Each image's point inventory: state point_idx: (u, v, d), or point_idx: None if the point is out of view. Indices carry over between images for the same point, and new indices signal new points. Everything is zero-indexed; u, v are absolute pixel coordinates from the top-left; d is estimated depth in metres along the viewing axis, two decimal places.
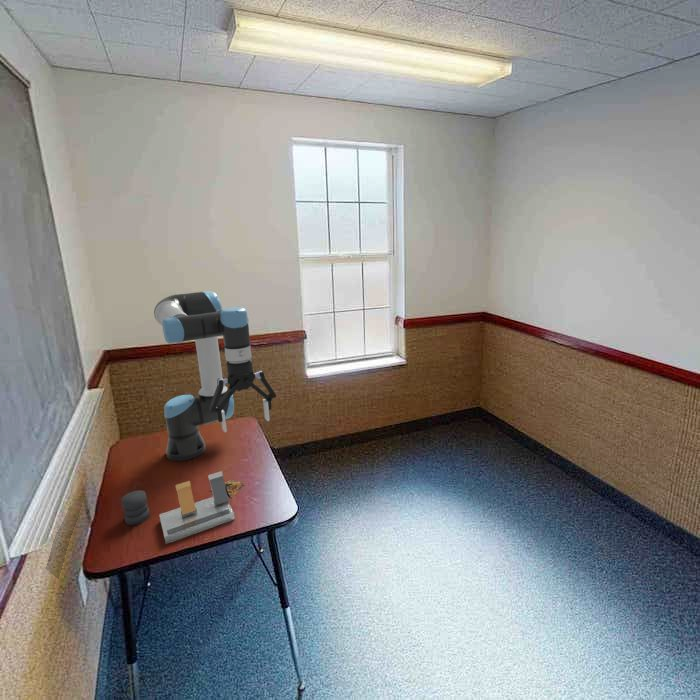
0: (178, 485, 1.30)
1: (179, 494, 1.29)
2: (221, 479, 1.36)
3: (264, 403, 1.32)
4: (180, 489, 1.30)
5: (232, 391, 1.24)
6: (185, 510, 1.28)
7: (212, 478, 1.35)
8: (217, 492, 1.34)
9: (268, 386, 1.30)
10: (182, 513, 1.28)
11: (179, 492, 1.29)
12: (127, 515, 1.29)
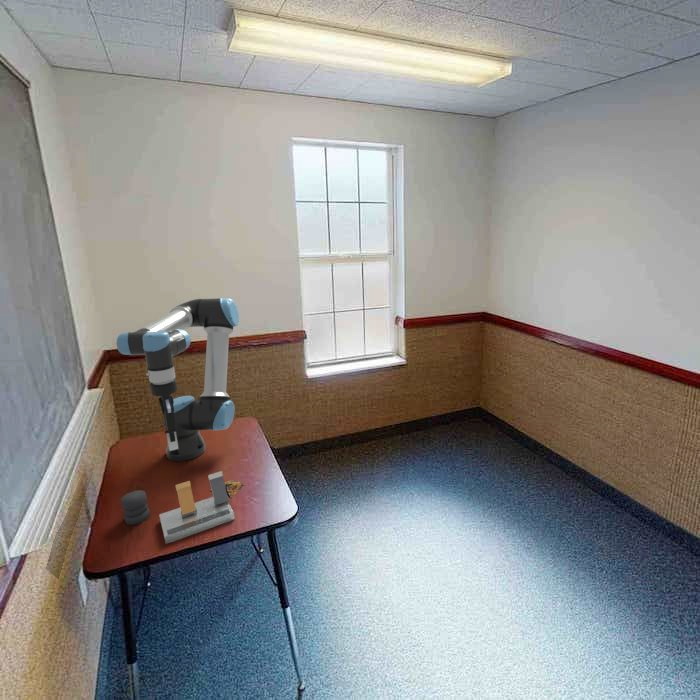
0: (178, 485, 1.30)
1: (179, 494, 1.29)
2: (221, 479, 1.36)
3: None
4: (180, 489, 1.30)
5: (161, 409, 1.33)
6: (185, 510, 1.28)
7: (212, 478, 1.35)
8: (217, 492, 1.34)
9: (166, 421, 1.30)
10: (182, 513, 1.28)
11: (179, 492, 1.29)
12: (127, 515, 1.29)
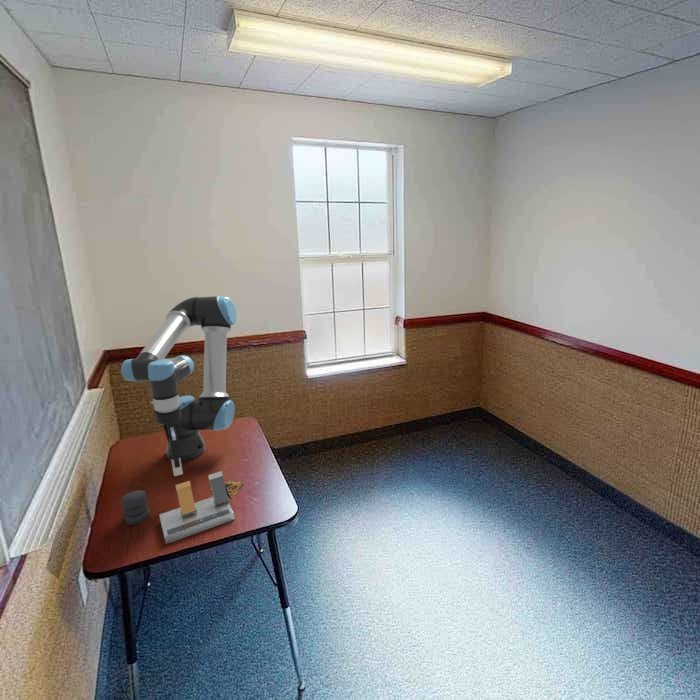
0: (178, 485, 1.30)
1: (179, 494, 1.29)
2: (221, 479, 1.36)
3: None
4: (180, 489, 1.30)
5: None
6: (185, 510, 1.28)
7: (212, 478, 1.35)
8: (217, 492, 1.34)
9: (171, 448, 1.32)
10: (182, 513, 1.28)
11: (179, 492, 1.29)
12: (127, 515, 1.29)
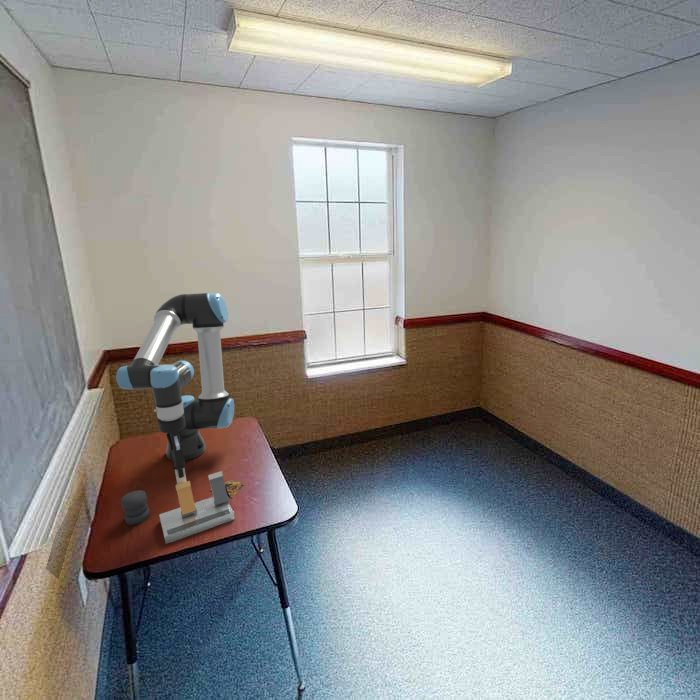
0: (178, 485, 1.30)
1: (179, 494, 1.29)
2: (221, 479, 1.36)
3: None
4: (180, 489, 1.30)
5: (169, 444, 1.30)
6: (185, 510, 1.28)
7: (212, 478, 1.35)
8: (217, 492, 1.34)
9: (174, 458, 1.26)
10: (182, 513, 1.28)
11: (179, 492, 1.29)
12: (127, 515, 1.29)
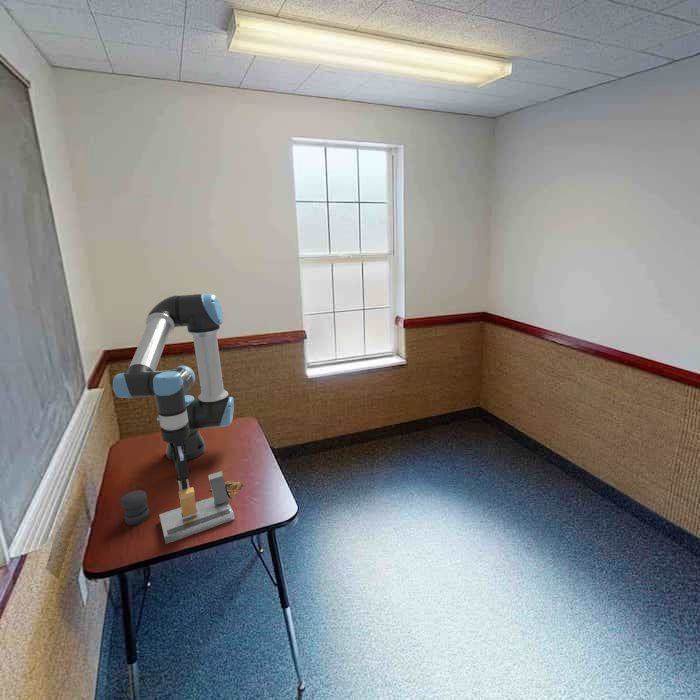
0: (182, 496, 1.23)
1: (182, 502, 1.24)
2: (221, 479, 1.36)
3: None
4: (184, 498, 1.24)
5: (172, 454, 1.23)
6: (186, 514, 1.27)
7: (212, 478, 1.35)
8: (217, 492, 1.34)
9: (178, 469, 1.20)
10: (183, 516, 1.27)
11: (182, 501, 1.24)
12: (127, 515, 1.29)
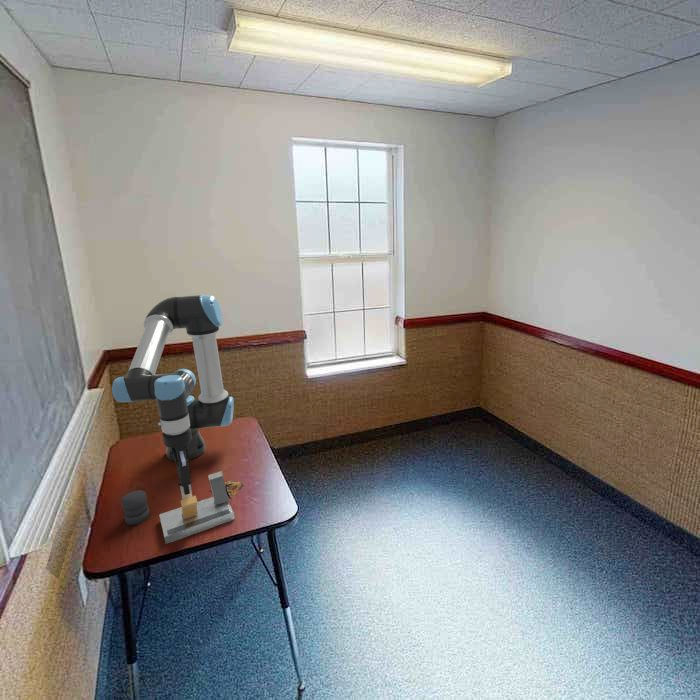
0: (185, 506, 1.21)
1: (184, 510, 1.23)
2: (221, 479, 1.36)
3: None
4: (186, 507, 1.22)
5: (174, 459, 1.21)
6: (187, 516, 1.27)
7: (212, 478, 1.35)
8: (217, 492, 1.34)
9: (180, 474, 1.18)
10: (183, 518, 1.27)
11: (184, 509, 1.23)
12: (127, 515, 1.29)
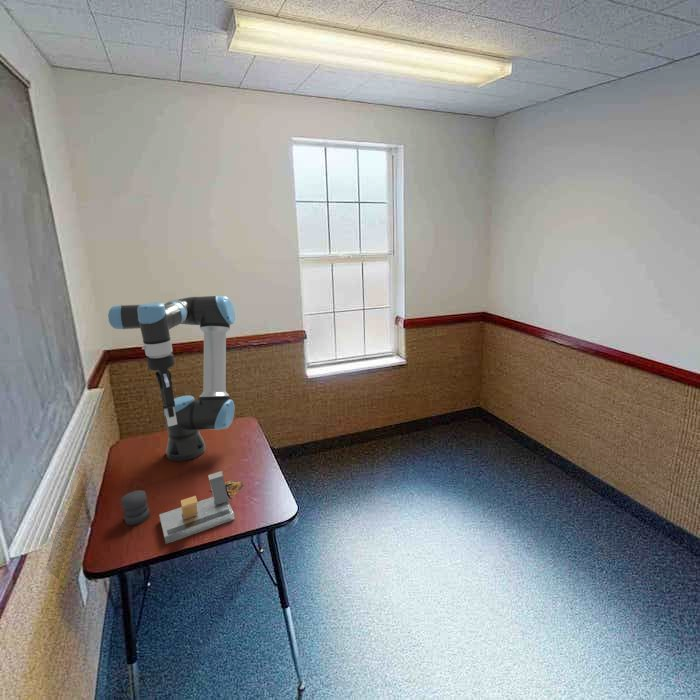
0: (185, 506, 1.21)
1: (184, 510, 1.23)
2: (221, 479, 1.36)
3: None
4: (186, 507, 1.22)
5: (158, 383, 1.29)
6: (187, 516, 1.27)
7: (212, 478, 1.35)
8: (217, 492, 1.34)
9: (164, 396, 1.26)
10: (183, 518, 1.27)
11: (184, 509, 1.23)
12: (127, 515, 1.29)
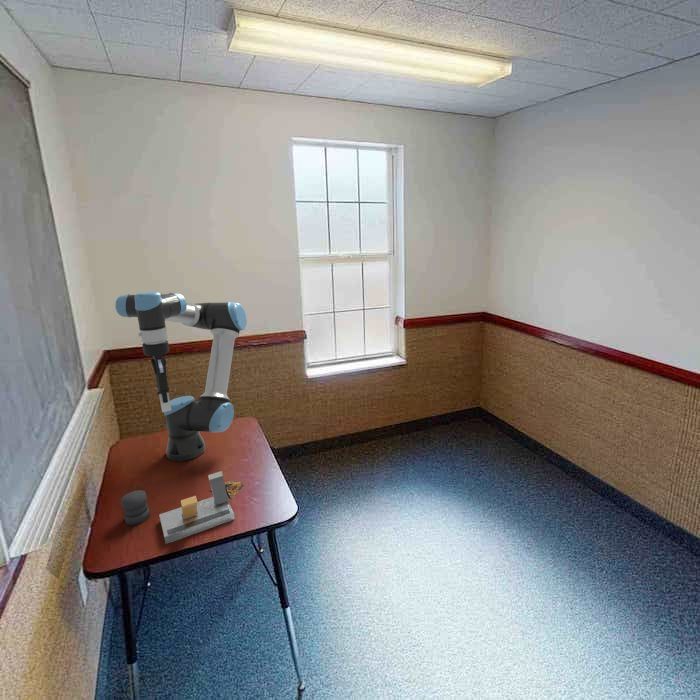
0: (185, 506, 1.21)
1: (184, 510, 1.23)
2: (221, 479, 1.36)
3: None
4: (186, 507, 1.22)
5: None
6: (187, 516, 1.27)
7: (212, 478, 1.35)
8: (217, 492, 1.34)
9: (158, 381, 1.31)
10: (183, 518, 1.27)
11: (184, 509, 1.23)
12: (127, 515, 1.29)
